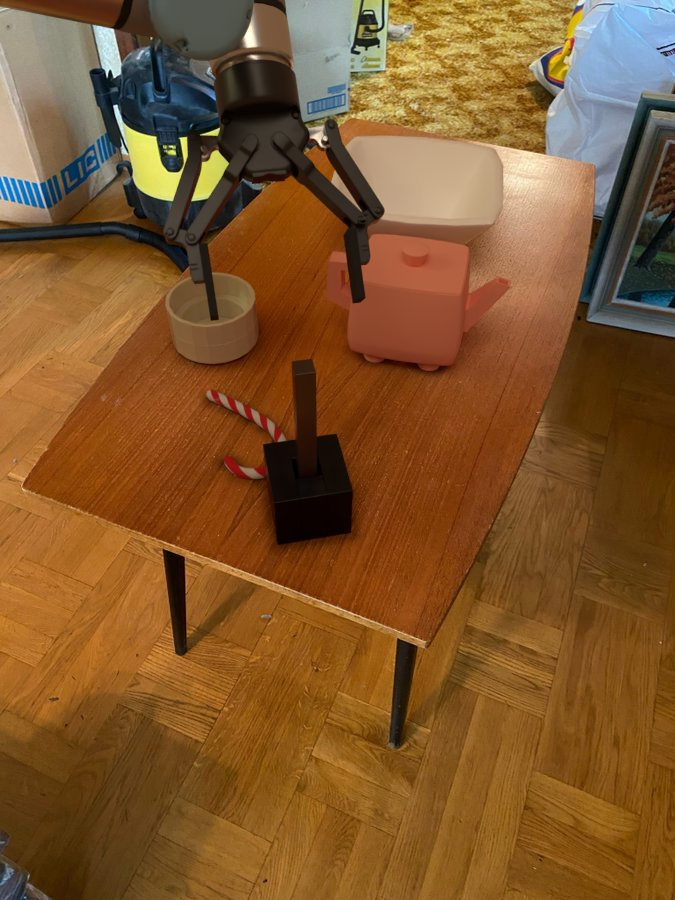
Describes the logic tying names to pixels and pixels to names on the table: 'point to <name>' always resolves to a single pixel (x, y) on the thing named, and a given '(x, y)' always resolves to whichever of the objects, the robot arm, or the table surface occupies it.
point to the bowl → (429, 186)
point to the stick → (305, 417)
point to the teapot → (412, 300)
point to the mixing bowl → (213, 337)
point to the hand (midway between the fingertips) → (287, 310)
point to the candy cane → (254, 417)
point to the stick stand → (308, 492)
